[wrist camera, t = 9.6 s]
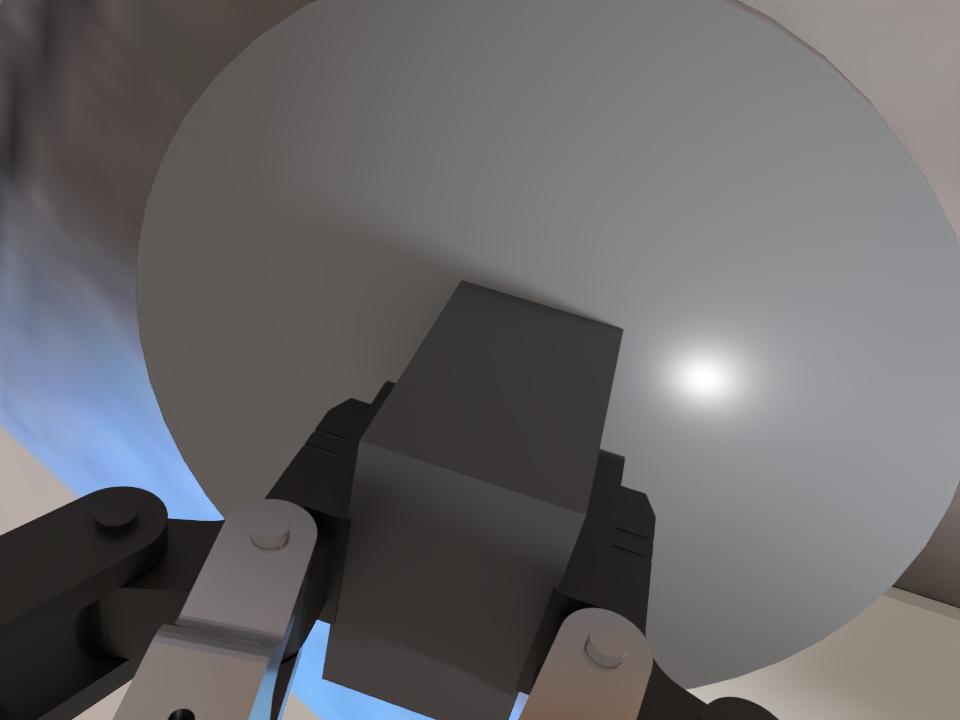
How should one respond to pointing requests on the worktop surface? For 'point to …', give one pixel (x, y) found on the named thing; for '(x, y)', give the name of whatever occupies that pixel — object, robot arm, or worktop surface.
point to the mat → (865, 668)
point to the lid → (560, 322)
